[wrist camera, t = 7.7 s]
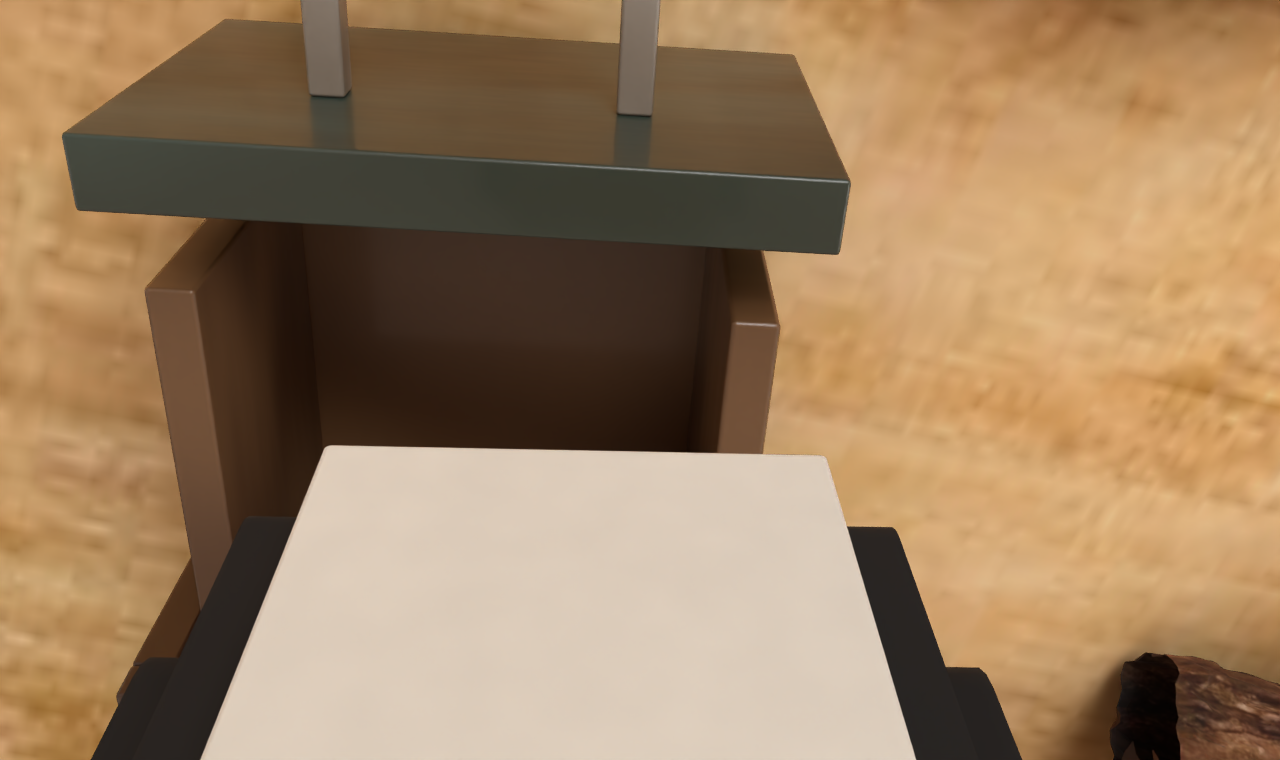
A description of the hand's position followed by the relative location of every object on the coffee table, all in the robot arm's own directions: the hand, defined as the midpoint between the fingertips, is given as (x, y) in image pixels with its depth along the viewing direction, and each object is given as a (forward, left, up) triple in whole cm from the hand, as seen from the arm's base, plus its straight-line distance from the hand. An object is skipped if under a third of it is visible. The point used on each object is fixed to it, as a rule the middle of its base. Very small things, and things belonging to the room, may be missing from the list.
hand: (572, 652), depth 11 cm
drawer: (-2, -3, -15) cm, 15 cm away
